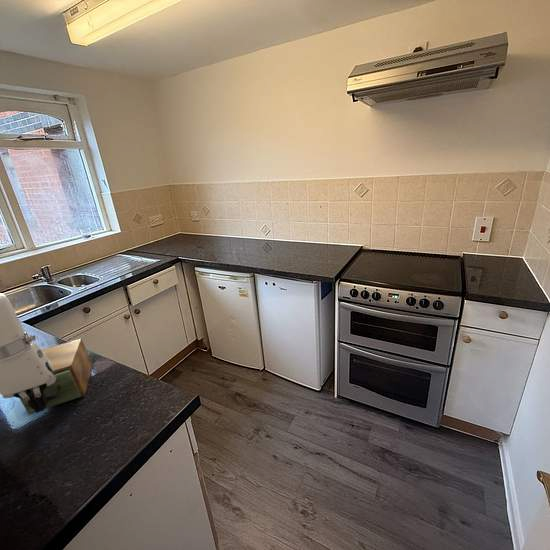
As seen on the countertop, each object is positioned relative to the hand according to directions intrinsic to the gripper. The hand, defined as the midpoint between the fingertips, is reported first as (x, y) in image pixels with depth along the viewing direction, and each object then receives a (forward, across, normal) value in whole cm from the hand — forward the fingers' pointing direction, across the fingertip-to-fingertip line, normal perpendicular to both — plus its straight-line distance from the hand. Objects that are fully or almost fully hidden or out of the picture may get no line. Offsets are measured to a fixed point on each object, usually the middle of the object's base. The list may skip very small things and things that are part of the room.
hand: (41, 407), depth 75 cm
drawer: (+5, 0, -11) cm, 12 cm away
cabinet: (+6, 0, -15) cm, 16 cm away
